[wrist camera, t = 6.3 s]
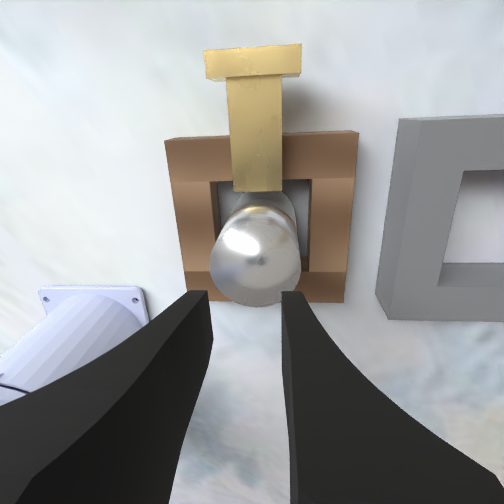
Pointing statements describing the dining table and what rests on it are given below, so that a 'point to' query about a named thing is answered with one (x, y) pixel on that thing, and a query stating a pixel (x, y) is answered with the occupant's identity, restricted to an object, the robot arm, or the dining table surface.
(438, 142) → the gray square frame
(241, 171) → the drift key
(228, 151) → the socket block
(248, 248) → the steel round rod
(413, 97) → the dining table surface
